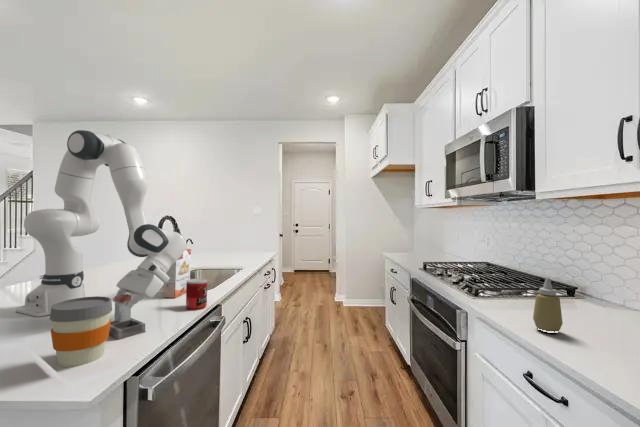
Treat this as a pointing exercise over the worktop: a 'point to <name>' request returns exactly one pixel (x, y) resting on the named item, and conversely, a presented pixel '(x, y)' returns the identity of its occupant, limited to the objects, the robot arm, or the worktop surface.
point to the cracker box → (178, 276)
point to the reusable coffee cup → (80, 329)
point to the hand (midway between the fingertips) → (120, 304)
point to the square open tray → (126, 329)
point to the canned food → (196, 294)
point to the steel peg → (122, 308)
